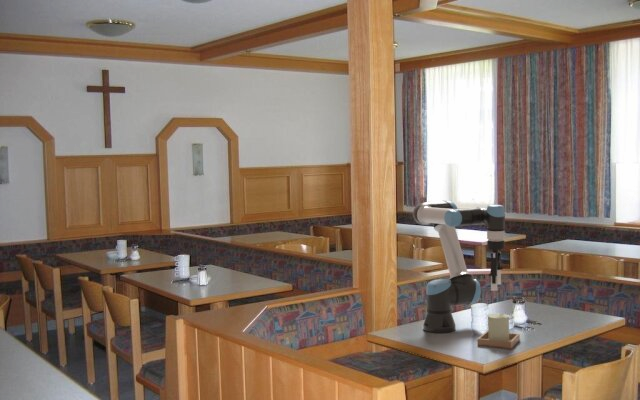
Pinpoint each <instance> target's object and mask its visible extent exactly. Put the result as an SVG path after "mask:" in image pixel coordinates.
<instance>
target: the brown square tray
mask: <svg viewBox="0 0 640 400" xmlns="http://www.w3.org/2000/svg"><path fill="white" fill-rule="evenodd" d="M520 335H521V334H520V333H513V332H509V341H510V342H508V341H499V340H489V339H488V330H487V331H485V332H484V333H483V334H481V335H480V336H479V337H478V338H477V341H476V342H477V347H478V346H479V347H485V348H486V347H488V348H497V349H506V350H512V349H513V348H515V346H516V345H518V343H519V342H520V340H521V339H520Z"/></svg>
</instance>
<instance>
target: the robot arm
mask: <svg viewBox="0 0 640 400" xmlns="http://www.w3.org/2000/svg"><path fill="white" fill-rule="evenodd" d="M505 210H506V209H505V206H504V205H501V204H488V205H487V207H483V206H476V207H474V208H473V207H472V208H458V206H457V205H456V204H455V203H454V202H453V201H450V200H439V201H425V202H421V203H419V204H417V205H416V206H415V207H414V209H413V211H412V217H413V219H414V221H415V222H416V223H417V224H419V225H422V226H433V230H434V231H436V232H437V233H438V237H439V240H440V244H441V247H442V251H443V254H444V257H445V263H446V265H447V269H448V272H449V278H448V279H447V278H439V279H433V280H430V281H429V282H428V283H427V284H426V291H425V294H426V295H425V296H426V297H425V298H426V315H425V318H424V321H423V330H424V331H425V332H429V333H435V334H436V333H437V334H446V333H452V332H454V331H456V329H457V328H456V323H455V320H454V317H453V314H452V307H456V306H457V307H458V306H466V305H467V306H469V305H473V304H476V303H477V302H478V301H479V300H480V297H481V294H482V293H481V291H482V289H481V284H480V281H478V280H477V279H476V278H474V277H473V275H472V273H470V272H468V269H467V268H468V267H467V265H466V261H465V258H464V254H463V251H462V247H461V244H460V240H459V237H458V233H457V230H456V227H462V226H463V227H464V226H477V225H480V226H481V225H484V226H487V227H486V239H487V241H486V243H487V244H486V245H487V246H486V247H487V249H488V250H492V252H491V253H490V273H489V274H488V276H489V277H490V291H491V292H495V291H496V292H497V291H498V285H502V270H503V266H502V252H501V251H502V250H504V249H505V247H506V243H505V242H506V241H505V237H506V235H507V233H506V231H505V229H506V213H505Z"/></svg>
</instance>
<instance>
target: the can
mask: <svg viewBox="0 0 640 400" xmlns="http://www.w3.org/2000/svg"><path fill="white" fill-rule="evenodd" d="M487 331H488V339H489V340H499V341H508V342H510V341H509V333H510V315H508V314H506V313H489V314H487Z"/></svg>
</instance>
